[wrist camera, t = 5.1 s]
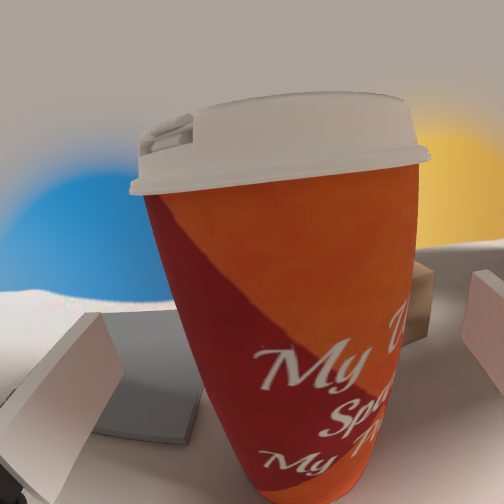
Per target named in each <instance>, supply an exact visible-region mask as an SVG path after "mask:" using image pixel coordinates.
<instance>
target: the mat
mask: <svg viewBox="0 0 504 504" xmlns="http://www.w3.org/2000/svg"><path fill="white" fill-rule="evenodd" d="M101 314H102V316H103V319H104V322H105V324H106V327H107V329H108V332H109V335H110V337H111V340H112V342H113V344H114V347H115V349H116V352H117V354H118V356H119V359H120V361H121V363H122V365H123V368H124V370H125V373H124V375H123V376H122V378H121V380H120V382H119V383H118V385H117V387H116V389H115V390H114V392H113V394H112V396H111V397H110V399H109V401H108V403H107V404H106V406H105V408H104V410H103V412H102V413H101V415H100V417H99V419H98V421H97V422H96V424H95V426H94V428H93V430H92V432H93V433H99V434H104V435H109V436H115V437H121V438H128V439H135V440H142V441H150V442H160V443H170V444H183V445H187V444H188V440H189V436H190V433H191V429H192V426H193V422H194V418H195V415H196V411H197V408H198V404H199V400H200V397H201V393H202V390H203V386H204V384H203V381H202V378H201V376H200V373H199V371H198V368H197V365H196V362H195V360H194V357H193V354H192V351H191V349H190V346H189V343H188V340H187V337H186V334H185V331H184V328H183V325H182V323H181V320H180V317H179V313H178V310H162V311H143V312H120V313H101Z"/></svg>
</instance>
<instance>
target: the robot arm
mask: <svg viewBox="0 0 504 504" xmlns="http://www.w3.org/2000/svg"><path fill="white" fill-rule="evenodd" d="M460 338H461V339H462V341H463V342H464V343H465V344H466V346H467V347H468V348H469V350H470V351H471V352H472V354H473V355H474V356H475V358H476V359H477V360H478V362H479V363H480V364H481V366H482V367H483V368H484V370H485V371H486V373H487V374H488V375H489V377H490V378H491V380H492V381H493V382H494V384H495V385H496V387H497V388H498V390H499V391H500V393H501V394H502V396H503V397H504V281H503V280H501V279H500V278H499V277H498V276H496V275H495V274H494V273H492V272H491V271H490V270H488V269H485V270H480V271H474V272H472V275H471V283H470V289H469V296H468V301H467V307H466V312H465V318H464V323H463V327H462V332H461V336H460ZM124 373H125V370H124V368H123V365H122V363H121V361H120V359H119V356H118V354H117V352H116V349H115V347H114V344H113V342H112V340H111V337H110V335H109V332H108V329H107V327H106V324H105V322H104V319H103V316H102V314H101V312H96V313H84V314H83V316H82V317H81V318H80V319H79V320H78V321H77V322H76V323H75V324H74V325H73V326H72V327H71V328H70V329H69V330H68V331H67V332H66V333H65V335H64V336H63V337H62V338H61V339H60V340H59V341H58V342H57V343H56V344H55V345H54V346H53V348H52V349H51V350H50V351H49V352H48V353H47V354H46V355H45V356H44V358H43V359H42V360H41V361H40V362H39V363H38V364H37V366H36V367H35V368H34V369H33V370H32V371H31V372H30V374H29V375H28V376H27V377H26V378H25V379H24V381H23V382H22V383H21V384H20V385H19V386H18V387H17V388H16V389H15V390H14V391H13V392H12V393H11V394H10V395H9V397H8V398H7V399H6V402H4V403H3V404H2V405H1V406H0V504H27V501H26V498H25V496H24V495H23V494H22V493H21V491H22V489H23V488H25V489H26V490H27V491H28V492H29V493H30V494H31V495H32V496H33V497H35V498H36V499H38V500H40V501H42V502H45V503H47V504H54V503H55V501H56V499H57V497H58V495H59V493H60V491H61V489H62V487H63V485H64V483H65V481H66V479H67V477H68V475H69V473H70V471H71V469H72V467H73V466H74V464H75V462H76V460H77V458H78V456H79V454H80V452H81V450H82V448H83V447H84V445H85V443H86V441H87V439H88V437H89V435H90V433H91V432H92V430H93V428H94V426H95V424H96V422H97V421H98V419H99V417H100V415H101V413H102V412H103V410H104V408H105V406H106V404H107V403H108V401H109V399H110V397H111V396H112V394H113V392H114V390H115V389H116V387H117V385H118V383H119V382H120V380H121V378H122V376H123V375H124Z"/></svg>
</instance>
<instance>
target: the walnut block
mask: <svg viewBox="0 0 504 504" xmlns="http://www.w3.org/2000/svg"><path fill="white" fill-rule="evenodd" d="M434 278H435V271H433V270H431V269H430V268H428V267H426V266H424V265H422V264H421V263H419V262H417V261H415V260H414V267H413V276H412V284H411V291H410V299H409V305H408V312H407V318H406V323H405V329H404V334H403V340H402V345H401V347H403V346H405V345H408V344H410V343H413V342H415V341H417V340H420V339H422V338H424V337H427V333H428V327H429V320H430V313H431V305H432V297H433V288H434Z"/></svg>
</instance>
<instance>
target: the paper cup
mask: <svg viewBox="0 0 504 504" xmlns="http://www.w3.org/2000/svg"><path fill="white" fill-rule="evenodd" d="M197 112H198V113H197V114H195V116H194V118H193V116H192V115H191V114H185V115H183V116H180V117H178V118H175V119H173V120H170V121H168V122H165V123H163V124H160V125H159V126H156V127H155V128H153V129H152V130H150V131H147V132H142V133H141V136H140V138H139V141H138V161H139V178H137V179H135V180H134V181H132V182H131V184H130V186H131V188H130V189H129V193H130V194H131V195H143V197H144V201H145V205H146V208H147V212H148V215H149V219H150V223H151V226H152V230H153V234H154V237H155V240H156V244H157V248H158V251H159V254H160V258H161V261H162V264H163V267H164V271H165V274H166V277H167V280H168V283H169V286H170V289H171V292H172V295H173V298H174V301H175V304H176V307H177V310H178V313H179V317H180V320H181V323H182V325H183V328H184V331H185V334H186V337H187V340H188V343H189V346H190V349H191V351H192V354H193V357H194V360H195V362H196V365H197V368H198V371H199V373H200V376H201V378H202V381H203V384H204V386H205V389H206V391H207V394H208V396H209V399H210V401H211V403H212V405H213V407H214V409H215V411H216V414H217V416H218V418H219V420H220V422H221V424H222V426H223V428H224V430H225V432H226V435H227V437H228V439H229V441H230V443H231V445H232V447H233V450H234V452H235V454H236V456H237V458H238V460H239V462H240V464H241V466H242V468H243V470H244V471H245V473H246V475H247V477H248V479H249V480H250V482H251V483H252V485H253V486H254V487H255V489H256V490H257V491H258V492H259V493H260V494H261V495H263V496H264V497H265V498H267V499H268V500H270V501H272V502H274V503H276V504H328V503H331V502H333V501H335V500H337V499H339V498H340V497H342V496H343V495H345V494H346V493H347V492H348V491H350V490H351V489H352V488H353V486H354V485H355V484H356V483H357V481H358V480H359V479H360V477H361V475H362V473H363V471H364V469H365V467H366V465H367V462H368V460H369V457H370V455H371V452H372V450H373V447H374V444H375V441H376V438H377V435H378V432H379V429H380V426H381V423H382V420H383V417H384V413H385V410H386V406H387V403H388V399H389V396H390V392H391V388H392V384H393V380H394V376H395V372H396V368H397V363H398V359H399V354H400V350H401V345H402V340H403V334H404V329H405V323H406V318H407V312H408V305H409V299H410V291H411V284H412V276H413V267H414V258H415V247H416V233H417V217H418V190H419V163H422V162H426V161H429V160H430V159H431V155H430V154H429V153H428V149H427V147H424V146H420V145H418V143H417V139H416V135H415V130H414V126H413V122H412V118H411V115H410V111H409V109H408V107H407V106H406V105H405V103H404V101H403V100H401V99H399V98H396V97H392V96H387V95H381V94H374V93H362V92H305V93H291V94H281V95H272V96H265V97H257V98H250V99H244V100H239V101H234V102H228V103H223V104H218V105H215V106H210V107H206V108H202V109H198V110H197Z"/></svg>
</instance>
